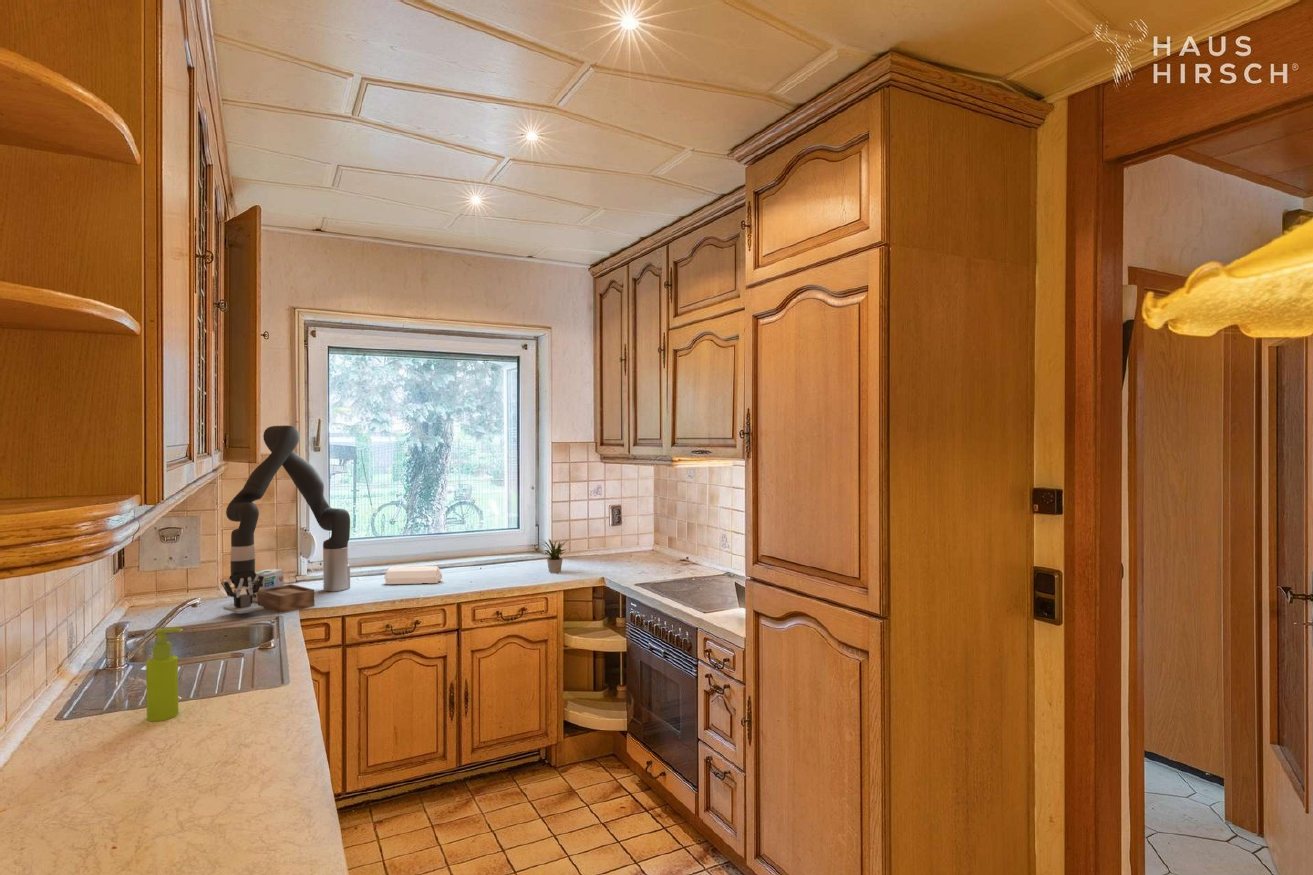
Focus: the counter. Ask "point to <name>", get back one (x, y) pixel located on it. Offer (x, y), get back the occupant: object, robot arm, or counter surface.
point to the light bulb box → (269, 580)
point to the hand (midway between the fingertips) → (243, 606)
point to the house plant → (554, 557)
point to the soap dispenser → (162, 679)
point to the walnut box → (285, 598)
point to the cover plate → (238, 610)
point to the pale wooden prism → (413, 575)
